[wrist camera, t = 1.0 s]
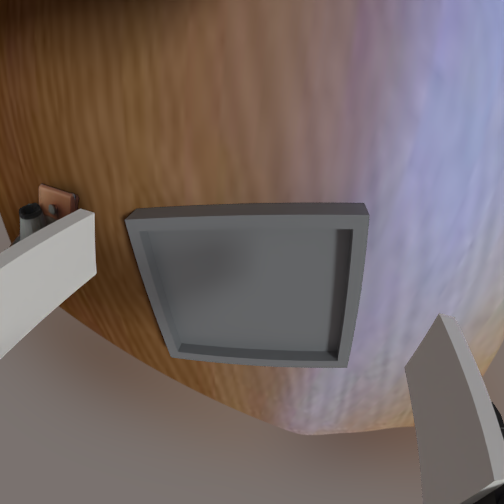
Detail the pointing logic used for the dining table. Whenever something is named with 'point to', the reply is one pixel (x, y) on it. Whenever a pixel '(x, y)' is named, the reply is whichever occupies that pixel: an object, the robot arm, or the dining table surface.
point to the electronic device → (45, 210)
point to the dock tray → (254, 280)
